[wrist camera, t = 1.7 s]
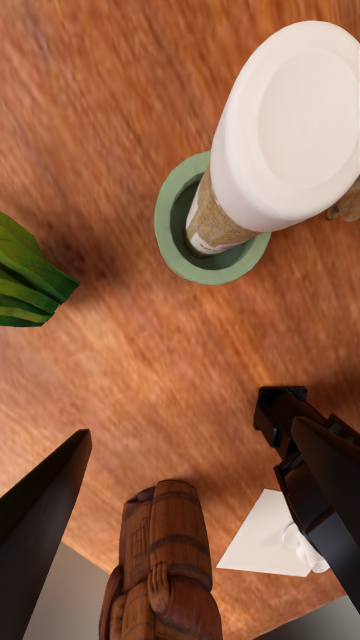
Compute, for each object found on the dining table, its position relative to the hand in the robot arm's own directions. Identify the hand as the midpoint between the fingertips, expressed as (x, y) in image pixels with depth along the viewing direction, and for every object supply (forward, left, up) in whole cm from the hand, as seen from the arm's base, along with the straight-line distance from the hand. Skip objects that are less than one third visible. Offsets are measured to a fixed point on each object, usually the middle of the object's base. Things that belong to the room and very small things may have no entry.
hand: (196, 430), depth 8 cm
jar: (-2, -11, -13) cm, 17 cm away
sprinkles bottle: (-2, -11, -13) cm, 17 cm away
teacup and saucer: (-21, +38, -13) cm, 46 cm away
